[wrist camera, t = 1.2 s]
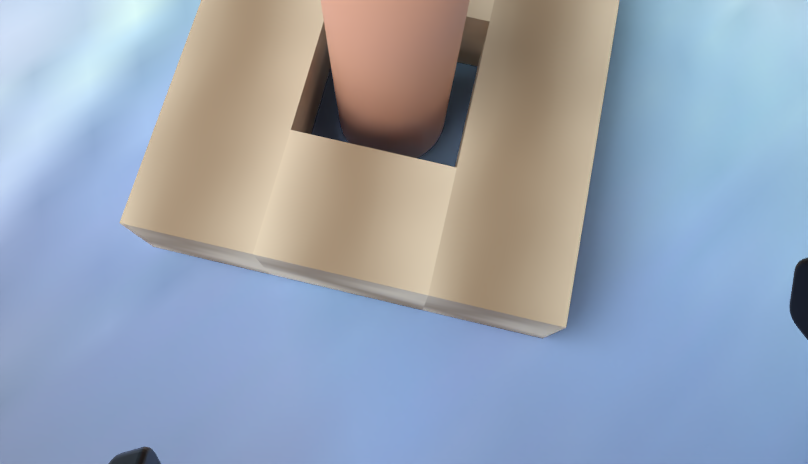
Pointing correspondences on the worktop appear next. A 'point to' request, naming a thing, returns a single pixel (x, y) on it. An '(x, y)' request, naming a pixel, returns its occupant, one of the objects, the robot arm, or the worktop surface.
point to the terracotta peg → (393, 69)
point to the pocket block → (384, 163)
